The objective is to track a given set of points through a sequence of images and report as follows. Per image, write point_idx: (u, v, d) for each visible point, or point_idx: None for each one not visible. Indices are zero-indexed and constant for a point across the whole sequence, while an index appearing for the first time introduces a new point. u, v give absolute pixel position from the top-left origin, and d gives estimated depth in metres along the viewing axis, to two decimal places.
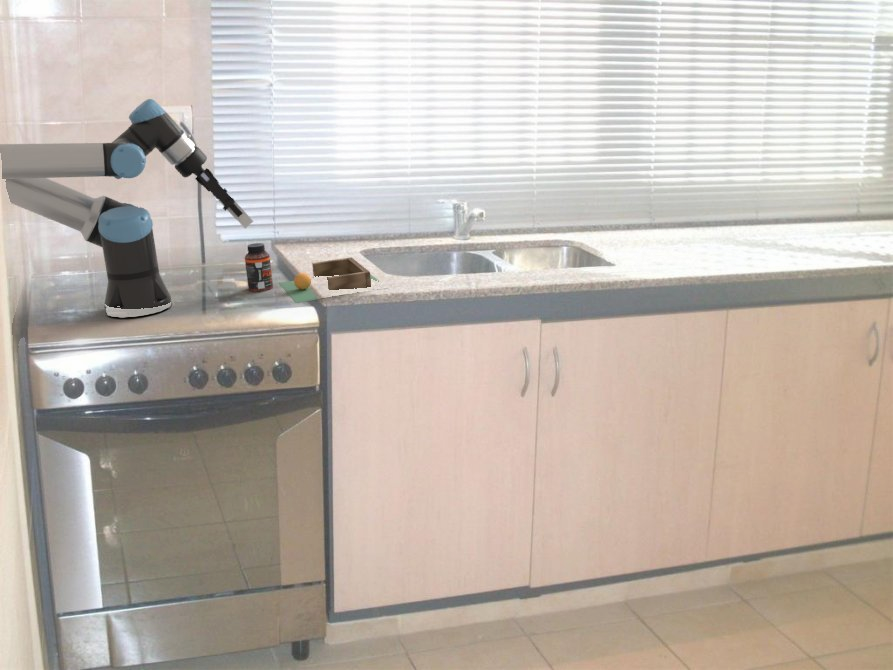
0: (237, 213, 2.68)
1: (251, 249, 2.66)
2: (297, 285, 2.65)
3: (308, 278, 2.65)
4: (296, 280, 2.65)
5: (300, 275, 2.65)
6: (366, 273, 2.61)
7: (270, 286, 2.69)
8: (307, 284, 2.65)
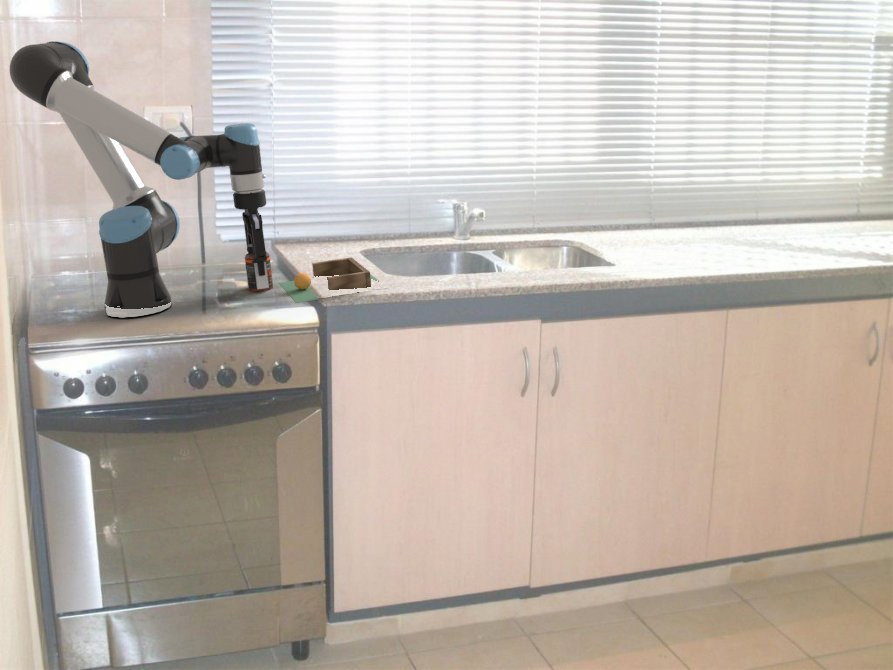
0: (260, 272, 2.64)
1: (251, 249, 2.66)
2: (297, 285, 2.65)
3: (308, 278, 2.65)
4: (296, 280, 2.65)
5: (300, 275, 2.65)
6: (366, 273, 2.61)
7: (270, 286, 2.69)
8: (307, 284, 2.65)
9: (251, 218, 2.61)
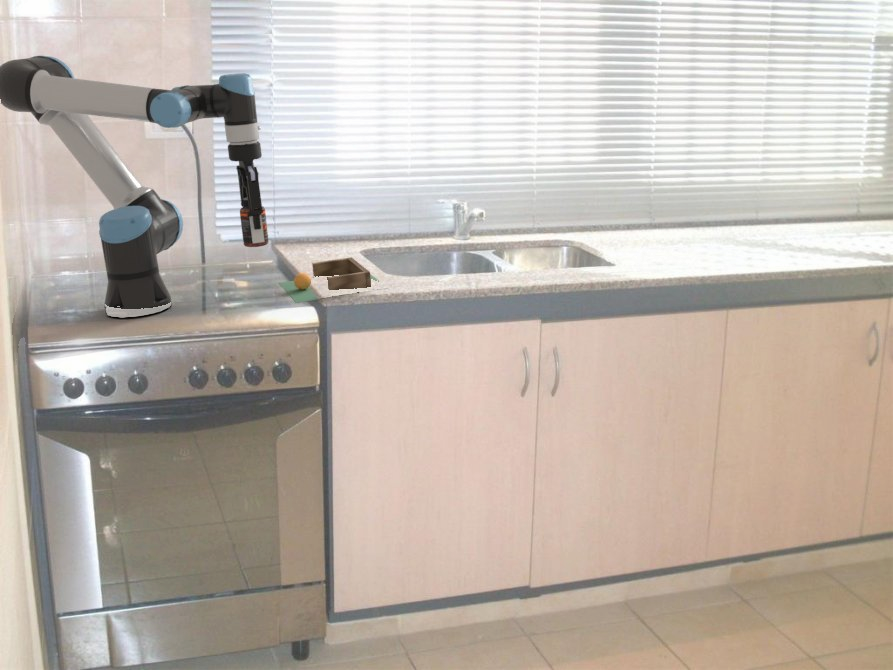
0: (256, 225, 2.60)
1: (246, 202, 2.61)
2: (297, 285, 2.65)
3: (308, 278, 2.65)
4: (296, 280, 2.65)
5: (300, 275, 2.65)
6: (366, 273, 2.61)
7: (266, 240, 2.64)
8: (307, 284, 2.65)
9: (246, 170, 2.56)
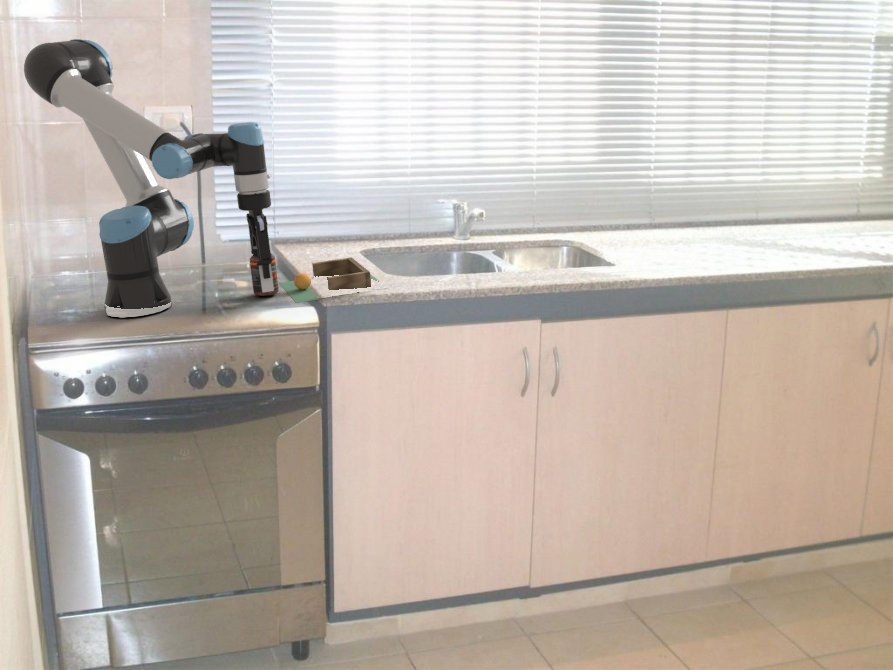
0: (265, 275, 2.58)
1: (256, 251, 2.59)
2: (297, 285, 2.65)
3: (308, 278, 2.65)
4: (296, 280, 2.65)
5: (300, 275, 2.65)
6: (366, 273, 2.61)
7: (276, 289, 2.62)
8: (307, 284, 2.65)
9: (256, 219, 2.54)
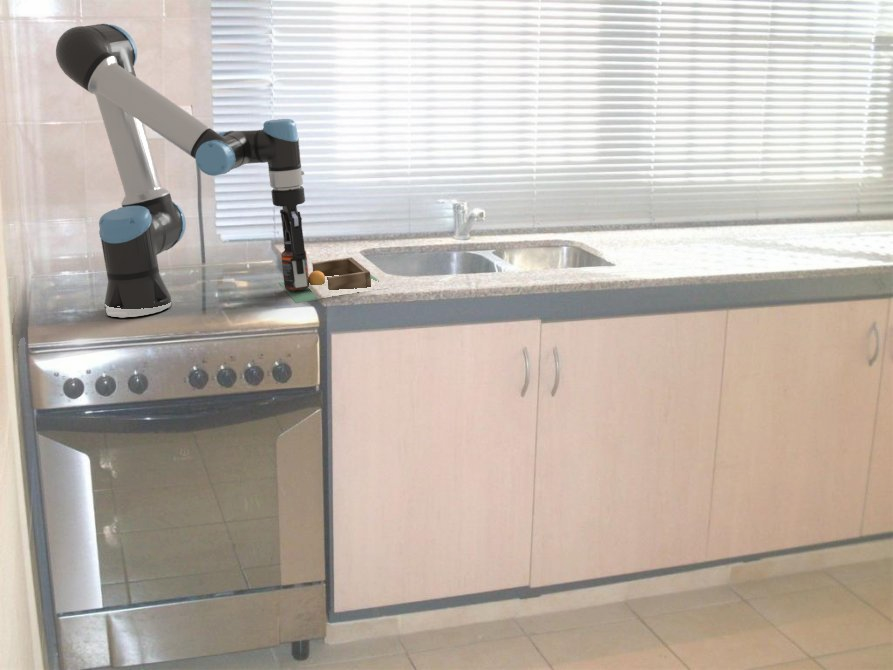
0: (299, 270, 2.60)
1: (287, 246, 2.61)
2: (315, 274, 2.65)
3: None
4: (320, 273, 2.65)
5: (324, 278, 2.66)
6: (366, 273, 2.61)
7: (307, 284, 2.64)
8: None
9: (290, 215, 2.57)
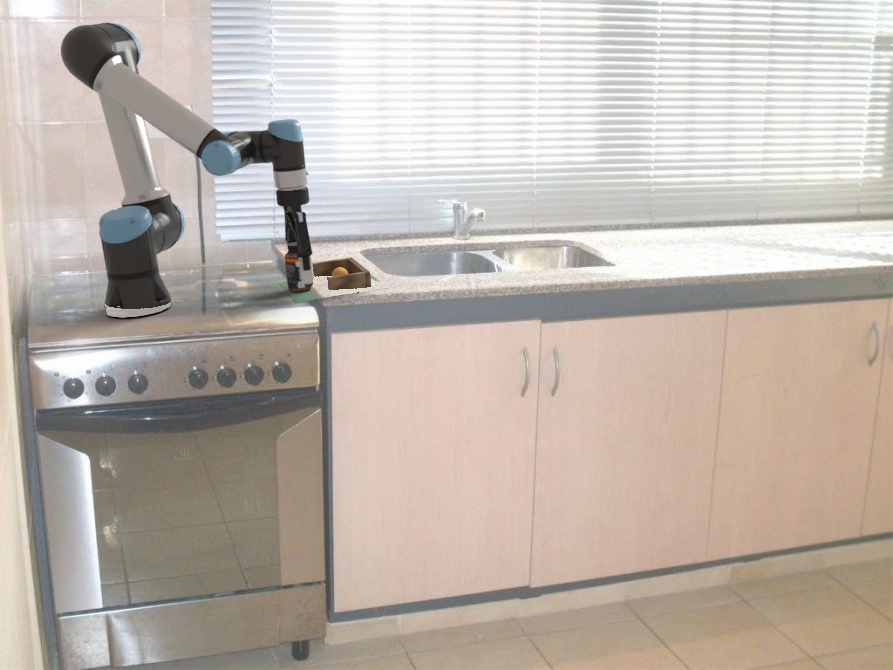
0: (305, 267, 2.57)
1: (291, 248, 2.62)
2: None
3: (336, 271, 2.67)
4: None
5: None
6: (366, 273, 2.61)
7: (310, 285, 2.65)
8: (343, 271, 2.67)
9: (294, 214, 2.57)
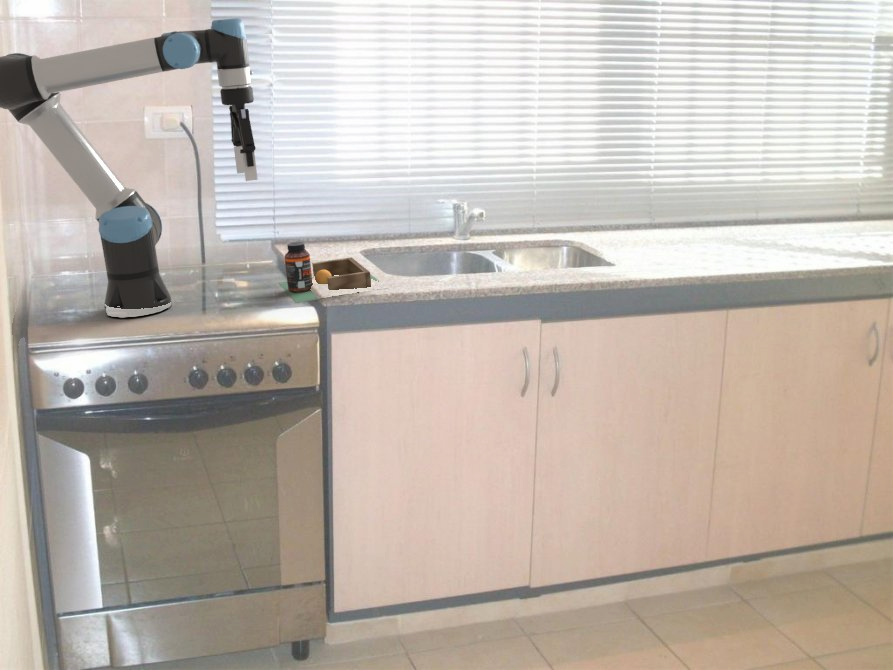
0: (249, 163, 2.60)
1: (291, 248, 2.62)
2: (326, 273, 2.66)
3: None
4: (330, 276, 2.67)
5: None
6: (366, 273, 2.61)
7: (310, 285, 2.65)
8: (318, 280, 2.66)
9: None
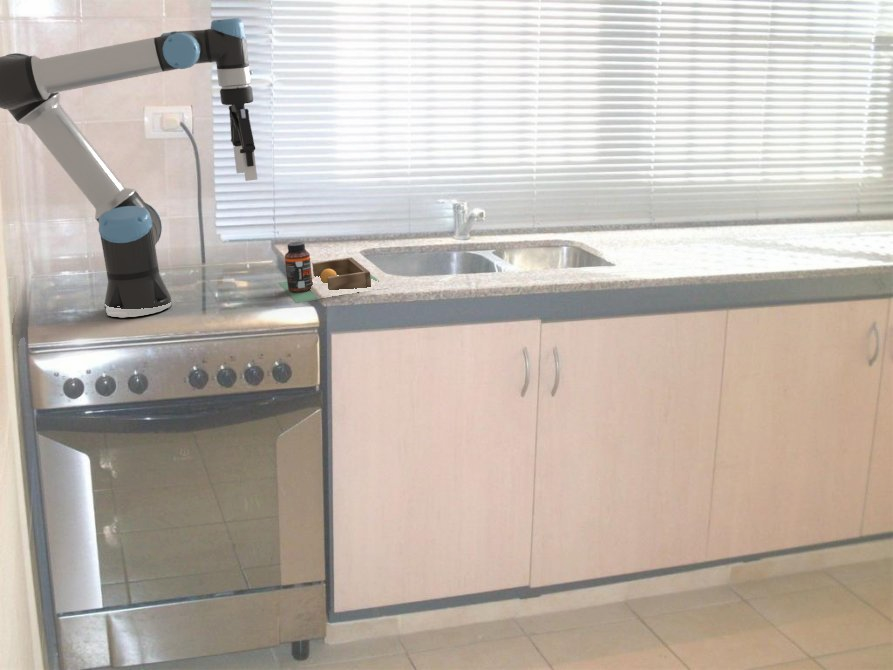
0: (249, 162, 2.60)
1: (291, 248, 2.62)
2: (335, 274, 2.67)
3: (324, 280, 2.67)
4: None
5: None
6: (366, 273, 2.61)
7: (310, 285, 2.65)
8: (325, 275, 2.66)
9: None
